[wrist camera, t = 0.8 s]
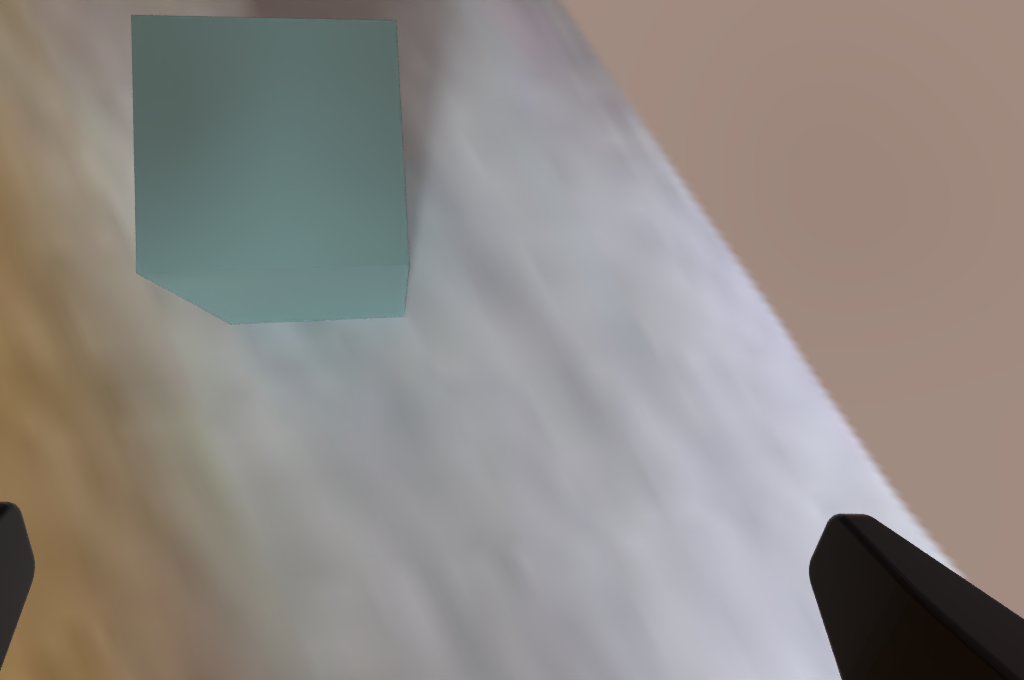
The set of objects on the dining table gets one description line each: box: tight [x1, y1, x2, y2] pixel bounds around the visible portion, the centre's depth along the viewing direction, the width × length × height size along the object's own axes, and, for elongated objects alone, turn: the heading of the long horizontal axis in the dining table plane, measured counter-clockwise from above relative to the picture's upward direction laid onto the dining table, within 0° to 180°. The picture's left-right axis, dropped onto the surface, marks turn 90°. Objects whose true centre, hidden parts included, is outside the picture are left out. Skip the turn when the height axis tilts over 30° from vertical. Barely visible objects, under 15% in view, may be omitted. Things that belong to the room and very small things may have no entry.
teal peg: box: [131, 15, 409, 324], centre depth 18 cm, size 5×5×8 cm
